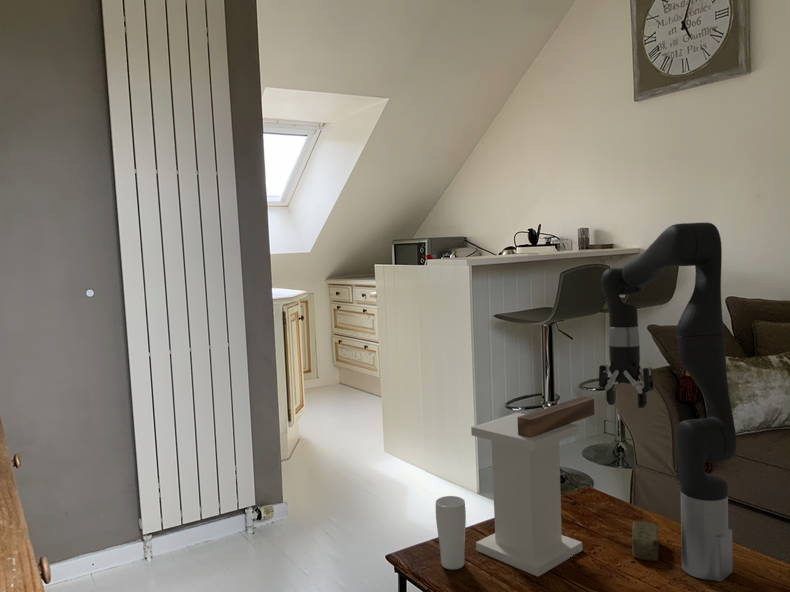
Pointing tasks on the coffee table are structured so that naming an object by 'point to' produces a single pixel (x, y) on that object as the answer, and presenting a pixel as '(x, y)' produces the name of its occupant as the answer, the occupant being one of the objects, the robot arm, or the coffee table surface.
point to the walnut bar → (555, 416)
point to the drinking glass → (451, 530)
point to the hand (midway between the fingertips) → (626, 406)
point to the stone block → (645, 541)
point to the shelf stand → (526, 497)
